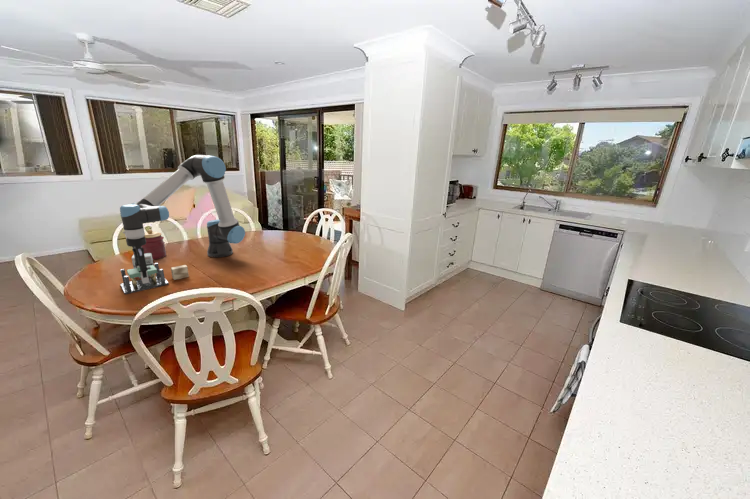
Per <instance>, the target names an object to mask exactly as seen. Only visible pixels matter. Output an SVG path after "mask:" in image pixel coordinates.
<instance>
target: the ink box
mask: <svg viewBox="0 0 750 499" xmlns="http://www.w3.org/2000/svg"><path fill="white" fill-rule="evenodd" d="M144 256H145V261H146V265H147V266H150V265H154V261H153V260H154V259H152V254H151V253H146V254H144ZM131 261H132V266H133V268H132V269H134V268H137V265H136V263H135V257H134V254H133V255H132V256H131ZM154 275H156V274H154ZM150 277H151V275H148V278H150ZM135 279H140V278H139V277H136V278H135Z"/></svg>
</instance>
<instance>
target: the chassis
mask: <svg viewBox="0 0 750 499" xmlns="http://www.w3.org/2000/svg"><path fill="white" fill-rule="evenodd" d="M153 264H154V266H155V268H156V269H157V273H156V274H155V275H154V274H151V276H150V277H148V278H149V283H145V284H142V279H141V278H140V279H137V278H131V281H130V277H129V275H126V274H127V273H126V270H125V268H121V269H120V274H121V277H122V278H121V279H122V283H119V284H120V288H121V289H122V291H123V293H124V295H128V294H133V293H137V292H143V291H145V290H146V291H147V290H151V289H156V288H161V287H165V286H169V285H170V284H169V281H168V280H167V279H166V278H165V272H164V269H163V268H160V266H159V263H158V262H155V263H154V262H153Z"/></svg>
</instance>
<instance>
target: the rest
mask: <svg viewBox="0 0 750 499" xmlns="http://www.w3.org/2000/svg"><path fill="white" fill-rule="evenodd" d="M170 271H171V277H172V279H173V281H175V280H181V279H186V278H188V277H190V274H189V268H188V266H187V265H186V264H183V265H177V266H172V267H170Z"/></svg>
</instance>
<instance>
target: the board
mask: <svg viewBox="0 0 750 499" xmlns="http://www.w3.org/2000/svg"><path fill="white" fill-rule="evenodd" d="M147 269H148V271H147V273H148V275H151V274H155V275H156V273H157V269H156V268H155V266H154V265H150V266H147ZM126 271H127V273H126V274H127V276H128V277H129V280H130V279H131V278H135V279H137V278H136V277H141V274H140V272H139V271H140V267H139V268H129V269H127V270H126Z"/></svg>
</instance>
